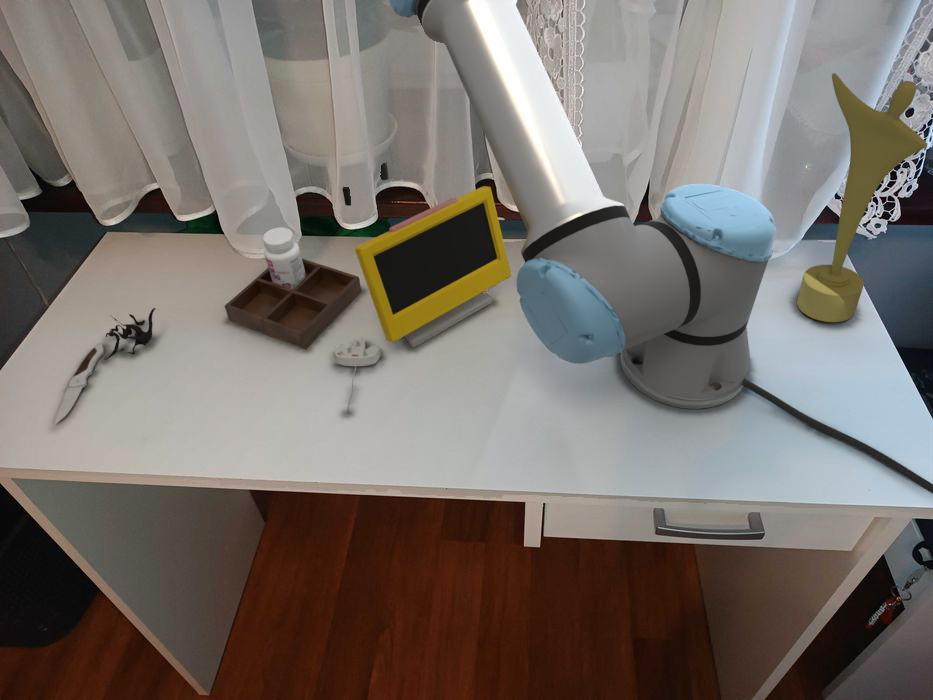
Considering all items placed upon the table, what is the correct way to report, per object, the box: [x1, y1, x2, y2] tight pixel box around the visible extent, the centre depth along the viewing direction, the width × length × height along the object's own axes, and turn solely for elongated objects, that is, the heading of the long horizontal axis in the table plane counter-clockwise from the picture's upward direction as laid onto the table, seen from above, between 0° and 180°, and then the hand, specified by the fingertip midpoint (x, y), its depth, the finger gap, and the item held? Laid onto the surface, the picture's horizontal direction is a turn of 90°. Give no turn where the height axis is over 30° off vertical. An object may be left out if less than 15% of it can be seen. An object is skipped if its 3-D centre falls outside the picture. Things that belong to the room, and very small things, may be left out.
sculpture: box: [796, 72, 928, 323], centre depth 85 cm, size 11×7×30 cm, turn 57°
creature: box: [104, 307, 157, 361], centre depth 93 cm, size 8×5×8 cm
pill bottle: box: [262, 226, 306, 290], centre depth 98 cm, size 5×5×8 cm
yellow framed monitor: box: [354, 185, 512, 349], centre depth 91 cm, size 20×8×16 cm, turn 129°
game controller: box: [334, 337, 382, 415], centre depth 88 cm, size 6×12×3 cm, turn 16°
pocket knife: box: [54, 343, 105, 424], centre depth 89 cm, size 14×1×2 cm
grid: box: [224, 258, 363, 350], centre depth 98 cm, size 13×13×3 cm
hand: (301, 192), depth 100 cm, fingers open, 13 cm apart
